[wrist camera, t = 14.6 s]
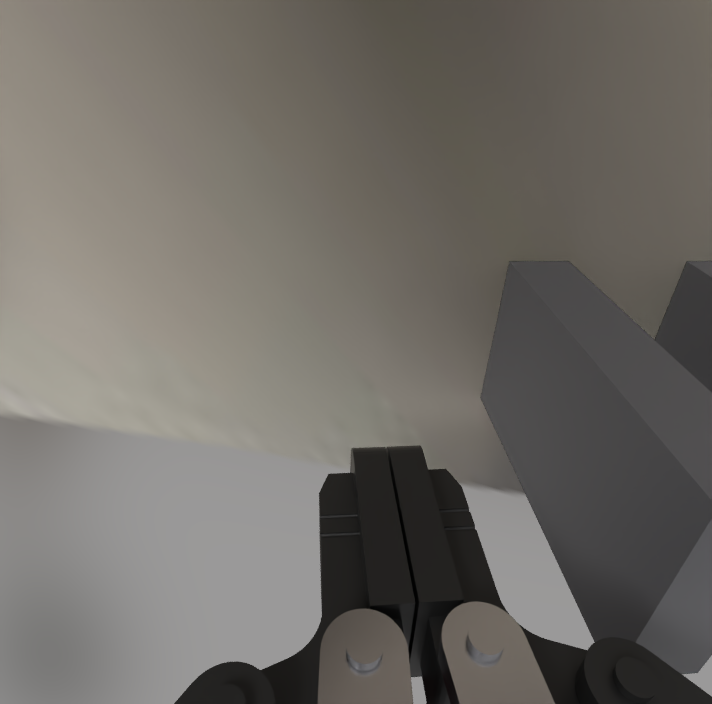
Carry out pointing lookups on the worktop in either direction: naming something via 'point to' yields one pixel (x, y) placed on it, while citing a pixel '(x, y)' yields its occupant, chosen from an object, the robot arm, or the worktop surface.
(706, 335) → the domino
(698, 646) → the domino
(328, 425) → the worktop surface
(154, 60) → the worktop surface
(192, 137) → the worktop surface
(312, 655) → the robot arm
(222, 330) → the worktop surface
